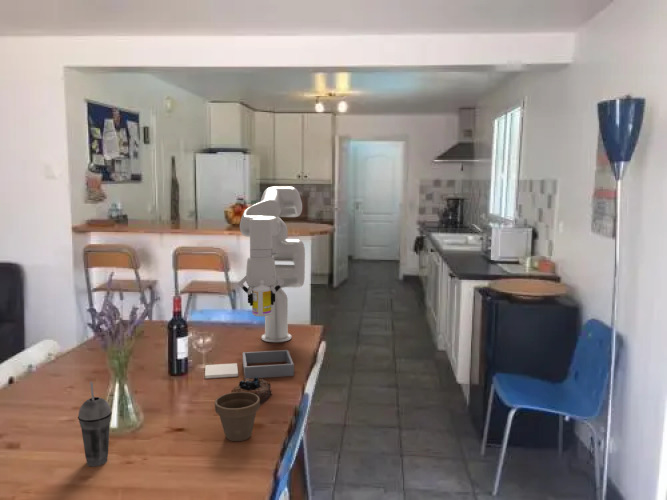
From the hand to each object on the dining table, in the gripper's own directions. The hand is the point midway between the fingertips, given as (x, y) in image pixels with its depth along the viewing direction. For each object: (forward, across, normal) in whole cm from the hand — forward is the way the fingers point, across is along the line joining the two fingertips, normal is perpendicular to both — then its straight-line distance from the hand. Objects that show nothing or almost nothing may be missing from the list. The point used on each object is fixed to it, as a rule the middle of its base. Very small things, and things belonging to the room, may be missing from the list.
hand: (261, 304), depth 193 cm
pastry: (+24, +6, +25) cm, 35 cm away
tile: (+23, +14, 0) cm, 27 cm away
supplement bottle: (+4, 0, 0) cm, 4 cm away
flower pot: (+24, +11, +51) cm, 57 cm away
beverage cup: (+23, +44, +57) cm, 76 cm away
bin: (+24, -2, 0) cm, 24 cm away
